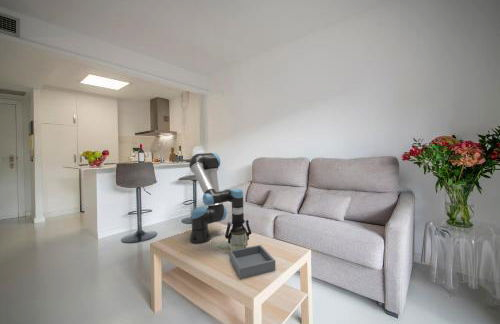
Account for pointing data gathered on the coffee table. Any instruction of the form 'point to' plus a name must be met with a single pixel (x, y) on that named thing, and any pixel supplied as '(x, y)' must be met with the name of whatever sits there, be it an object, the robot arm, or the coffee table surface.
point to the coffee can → (238, 238)
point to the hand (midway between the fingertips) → (238, 246)
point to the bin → (251, 261)
